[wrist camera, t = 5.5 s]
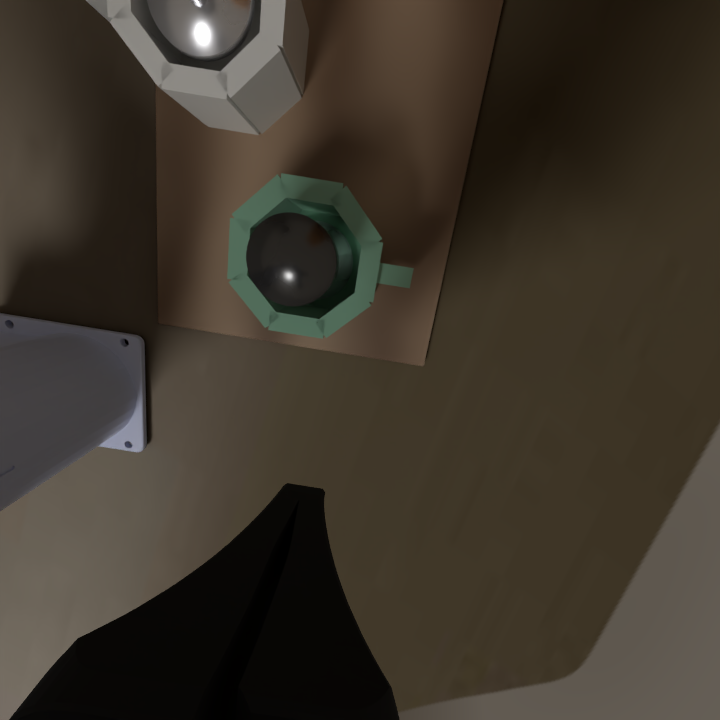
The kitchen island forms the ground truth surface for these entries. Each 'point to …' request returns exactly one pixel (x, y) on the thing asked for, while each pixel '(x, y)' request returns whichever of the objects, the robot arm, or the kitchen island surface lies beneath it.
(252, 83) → the white faceted cup
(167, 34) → the grey plunger
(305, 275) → the black knob plunger
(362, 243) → the green octagonal cup
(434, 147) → the board
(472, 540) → the kitchen island surface
